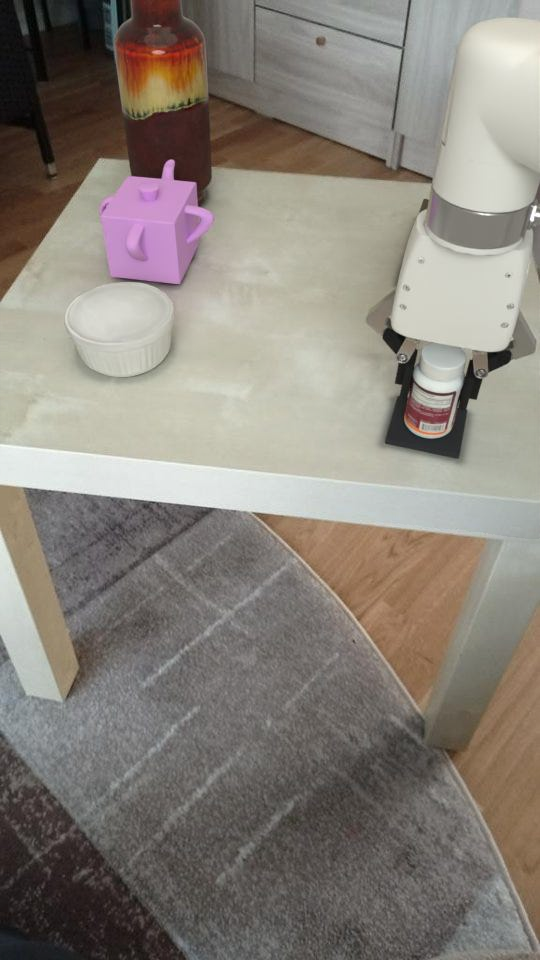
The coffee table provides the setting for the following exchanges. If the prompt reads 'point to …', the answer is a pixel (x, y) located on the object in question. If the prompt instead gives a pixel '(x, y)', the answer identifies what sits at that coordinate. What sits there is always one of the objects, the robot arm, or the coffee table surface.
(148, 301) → the ramekin
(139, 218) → the teapot
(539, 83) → the robot arm
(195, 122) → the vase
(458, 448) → the mat
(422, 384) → the pill bottle
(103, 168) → the coffee table surface
